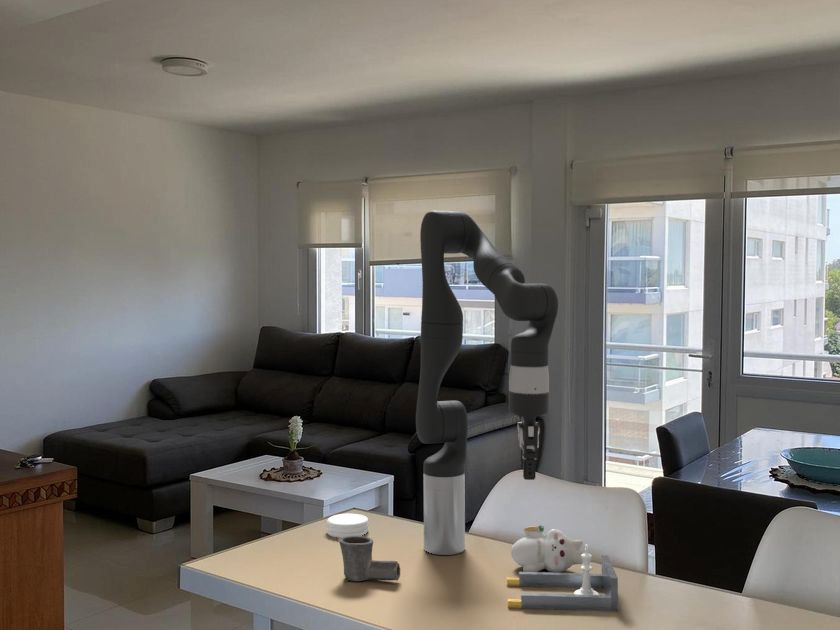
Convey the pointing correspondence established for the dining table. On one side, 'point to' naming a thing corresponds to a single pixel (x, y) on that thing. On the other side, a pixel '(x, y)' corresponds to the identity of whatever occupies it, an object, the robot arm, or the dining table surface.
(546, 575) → the bracket
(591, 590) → the chess piece
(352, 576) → the pipe
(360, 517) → the round white light
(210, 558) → the dining table surface
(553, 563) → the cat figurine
